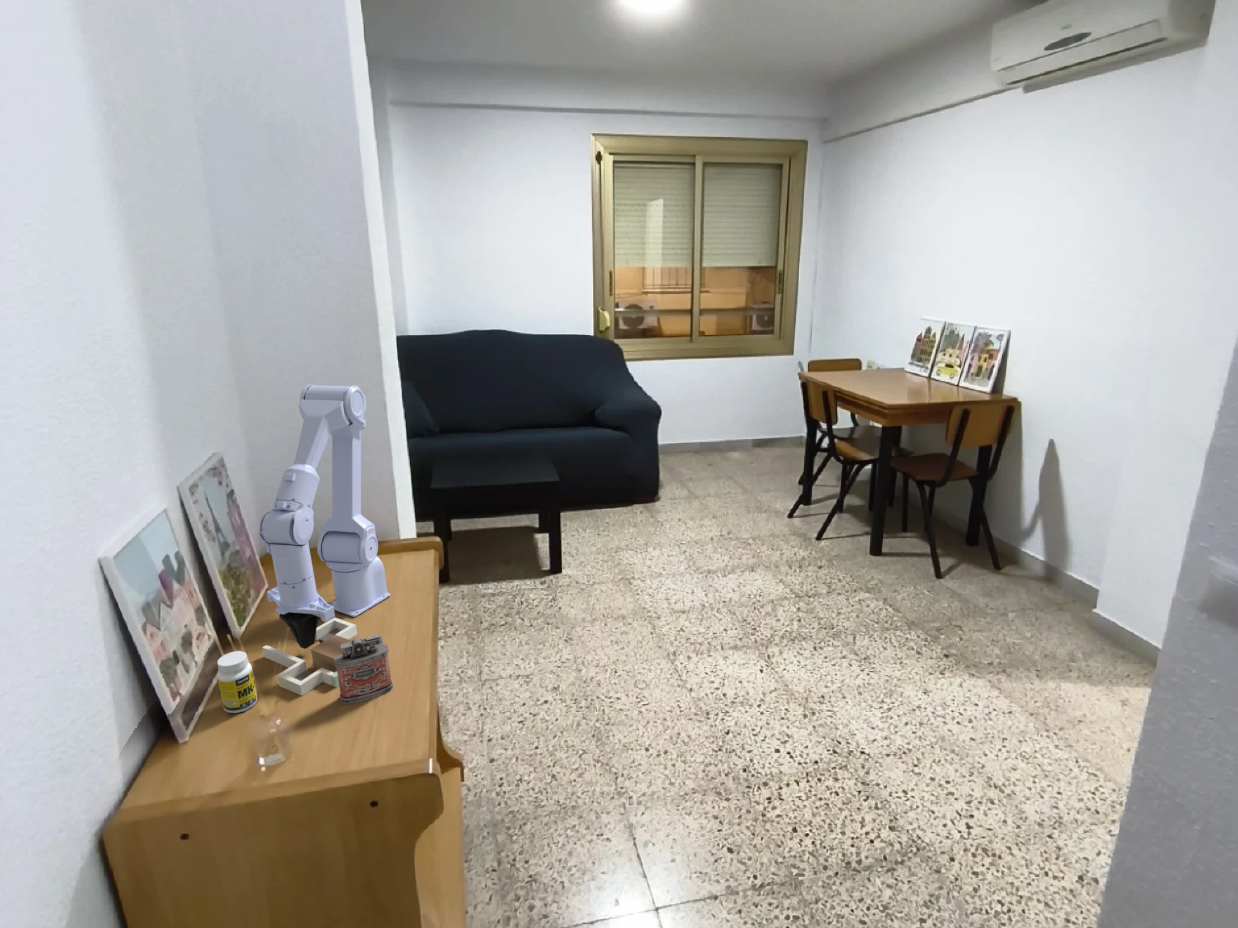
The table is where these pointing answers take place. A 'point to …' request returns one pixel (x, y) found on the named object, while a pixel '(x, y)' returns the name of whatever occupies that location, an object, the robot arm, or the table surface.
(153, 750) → the table surface
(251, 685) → the supplement bottle
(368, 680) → the lighter
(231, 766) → the table surface
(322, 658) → the block
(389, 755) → the table surface
